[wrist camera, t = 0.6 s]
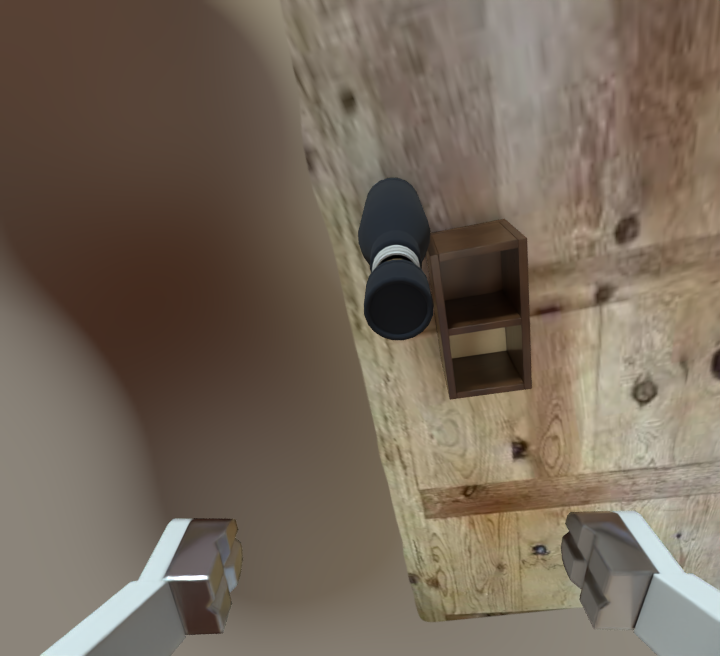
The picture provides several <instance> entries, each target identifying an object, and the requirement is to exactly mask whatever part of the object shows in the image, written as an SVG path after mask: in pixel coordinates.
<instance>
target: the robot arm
mask: <svg viewBox="0 0 720 656" xmlns="http://www.w3.org/2000/svg"><path fill="white" fill-rule="evenodd" d="M565 524H566V526H567V528H568V530H569V532H568V533H567V534H565V535H564V536H563V537H562V543H561V553H562V560H563V564H564V567H565V570H566V572H567V574H568V576H569V579H570V580H571V581H572V582H573V583H574V584H576V585H577V586H578V587H579V588H580V589H582V590H581V594H580V602H581V604H582V606H583V608H584V610H585V612H586V614H587V616H588V618H589V620H590V622H591V624H592V626H593V628H594V629H600V630H601V629H602V630H634V633H635V634H636V635H637V636H638V637H639V638H640V639H641V640H642V641H643V642H644V643H645V644H646V645H647V646H648V647H649V648H650V649H651V650H652V651H653V652H654V653H655V654H657V655H658V656H720V591H719V590H718V589H716V588H714V587H713V586H711V585H710V584H708V583H707V582H705V581H704V580H702V579H701V578H699V577H698V576H696V575H694V574H693V573H685V572H684V570H683V569H682V568H681V566H680V565H679V564H678V562H677V561H676V560H675V559H674V557H673V556H672V555H671V553H670V552H669V551H668V549H667V548H666V547H665V546H664V544H663V543H662V542H661V540H660V539H659V538H658V536H657V535H656V534H655V533H654V531H653V530H652V529H651V527H650V526H649V525H648V523H647V522H646V521H645V520H644V518H643V517H642V516H641V515H640V514H639V513H638V512H636V511H591V512H570V513H569V514H568V516H567V519H566V523H565ZM237 531H238V527H237V523H236V520H235V519H197V518H196V519H195V518H194V519H173V520H172V521H171V522H170V523H169V524H168V525H167V527H166V529H165V531H164V533H163V534H162V536H161V538H160V540H159V542H158V544H157V546H156V548H155V549H154V551H153V553H152V555H151V557H150V559H149V561H148V562H147V564H146V566H145V568H144V570H143V572H142V574H141V576H140V577H139V580H138V581H132V582H130V583H129V584H127V585H126V586H125V587H124V588H123V589H122V590H120V591H119V592H118V593H116V594H115V595H114V596H113V597H112V598H110V599H109V600H108V601H106V602H105V603H104V604H103V605H102V606H101V607H99V608H98V609H97V610H96V611H94V612H93V613H92V614H90V615H89V616H88V617H87V618H86V619H84V620H83V621H82V622H81V623H79V624H78V625H77V626H76V627H74V628H73V629H72V630H71V631H70V632H68V633H67V634H66V635H65V636H63V637H62V638H61V639H60V640H58V641H57V642H56V643H55V644H54V645H52V646H51V647H50V648H49V649H47V650H46V651H45V652H44V653H43V654H41V655H40V656H171V655H172V653H173V652H174V651H175V650H176V649H177V647H178V646H179V645H180V644H181V643H182V642H183V640H184V639H185V638H186V636H185V635H195V634H218V633H223V631H224V628H225V625H226V622H227V618H228V615H229V611H230V608H231V605H232V602H231V597H230V592H231V591H232V590H233V589H234V588H235V587H236V586H237V585H238V581H239V577H240V574H241V567H242V561H243V557H242V556H243V555H242V545H241V542H240V541H239V540H237V539H236V538H235V537H236V534H237Z"/></svg>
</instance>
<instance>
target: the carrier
mask: <svg viewBox="0 0 720 656" xmlns="http://www.w3.org/2000/svg"><path fill="white" fill-rule="evenodd" d="M426 259H427V266H428V273H429V279H430V286H431V293H432V300H433V304H434V314H435V321H436V328H437V335H438V342H439V349H440V356H441V362H442V367H443V371H444V376H445V380H446V385H447V389H448V393H449V398H450V399H457V398H464V397H472V396H479V395H487V394H494V393H502V392H509V391H517V390H524V389H531V388H532V380H531V348H530V317H529V285H528V254H527V238H526V237H525V236H524V235H523V234H522V233H520V232H519V231H518V230H517V229H516V228H515V227H513V226H512V225H511V224H510V223H509V222H508V221H506V220H505V219H501V220H496V221H491V222H486V223H481V224H475V225H470V226H465V227H460V228H455V229H450V230H444V231H439V232H434V233H430V243H429V247H428V249H427V252H426Z"/></svg>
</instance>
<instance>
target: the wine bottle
mask: <svg viewBox="0 0 720 656" xmlns="http://www.w3.org/2000/svg"><path fill="white" fill-rule="evenodd" d="M358 239H359V245H360V248H361V251H362V254H363V256H364V258H365V259H366V261H367V262H368V263H369V265H370V270H371V274H370V276H369V278H368V281H367V284H366V292H365V300H364V315H365V318H366V321H367V323H368V325H369V326H370V327H371V328H372V330H373V331H374V332H375V333H377V334H379V335H380V336H382V337H384V338H387V339H391V340H406V339H409V338H413V337H415V336H416V335H418V334H420V333H421V332H423V331H424V329H425V328H426V327H427V326H428V325H429V323H430V321H431V318H432V316H433V307H434V304H433V300H432V296H431V292H430V288H429V284H428V281H427V277H426V275H425V274H424V272H423V271H422V260H423V259H424V257H425V255H426V252H427V249H428V247H429V243H430V227H429V224H428V220H427V218H426V215H425V212H424V210H423V207H422V205H421V202H420V200H419V197H418V195H417V192H416V191H415V189H414V188H413V186H412V185H411V184H409V183H408V182H407V181H405V180H402V179H399V178H386V179H384V180H381V181H379V182H378V183H377V184H375V185H374V186H373V187H372V188H371V190H370V191H369V193H368V195H367V199H366V202H365V206H364V211H363V215H362V219H361V223H360V227H359V231H358Z"/></svg>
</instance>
